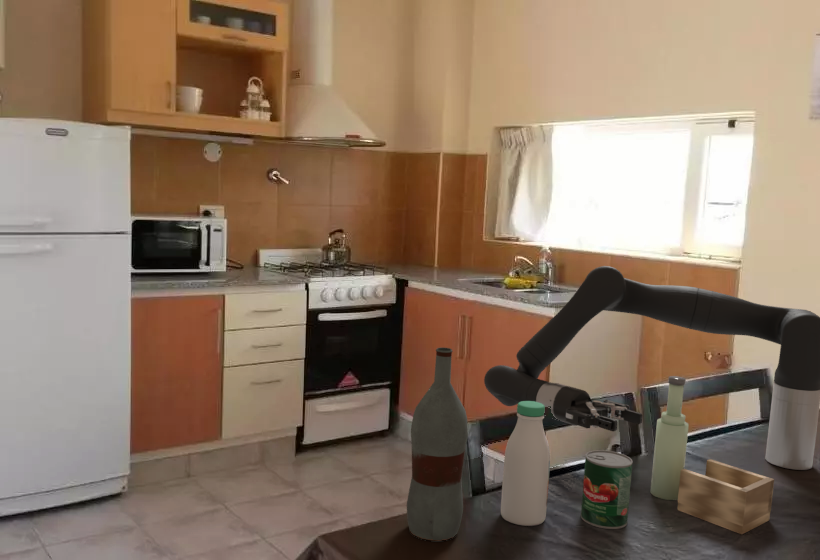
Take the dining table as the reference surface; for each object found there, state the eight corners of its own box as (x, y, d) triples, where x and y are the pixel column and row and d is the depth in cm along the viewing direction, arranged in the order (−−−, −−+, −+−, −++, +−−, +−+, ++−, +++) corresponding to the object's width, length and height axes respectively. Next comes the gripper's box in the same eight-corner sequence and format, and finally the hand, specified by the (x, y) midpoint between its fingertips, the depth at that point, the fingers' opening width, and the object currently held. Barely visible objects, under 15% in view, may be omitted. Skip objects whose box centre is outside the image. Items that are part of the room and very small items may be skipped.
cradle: (676, 510, 141) (680, 470, 140) (706, 497, 148) (710, 459, 147) (741, 534, 132) (746, 492, 131) (769, 520, 139) (774, 479, 138)
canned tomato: (628, 514, 138) (634, 454, 136) (625, 532, 130) (631, 469, 129) (583, 506, 140) (588, 447, 139) (577, 523, 133) (582, 461, 131)
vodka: (417, 514, 133) (427, 340, 130) (468, 525, 130) (480, 347, 126) (396, 535, 125) (406, 350, 121) (451, 548, 121) (462, 358, 118)
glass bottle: (647, 487, 151) (658, 373, 148) (676, 489, 151) (688, 375, 148) (654, 498, 146) (665, 380, 143) (684, 501, 145) (696, 383, 142)
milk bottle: (544, 530, 130) (554, 412, 127) (498, 523, 131) (506, 407, 129) (546, 511, 137) (555, 400, 135) (502, 505, 139) (509, 395, 136)
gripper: (542, 390, 161) (609, 409, 149) (584, 381, 170) (650, 399, 158) (540, 425, 162) (606, 447, 150) (582, 415, 171) (647, 435, 159)
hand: (629, 422), depth 154 cm, fingers open, 8 cm apart
